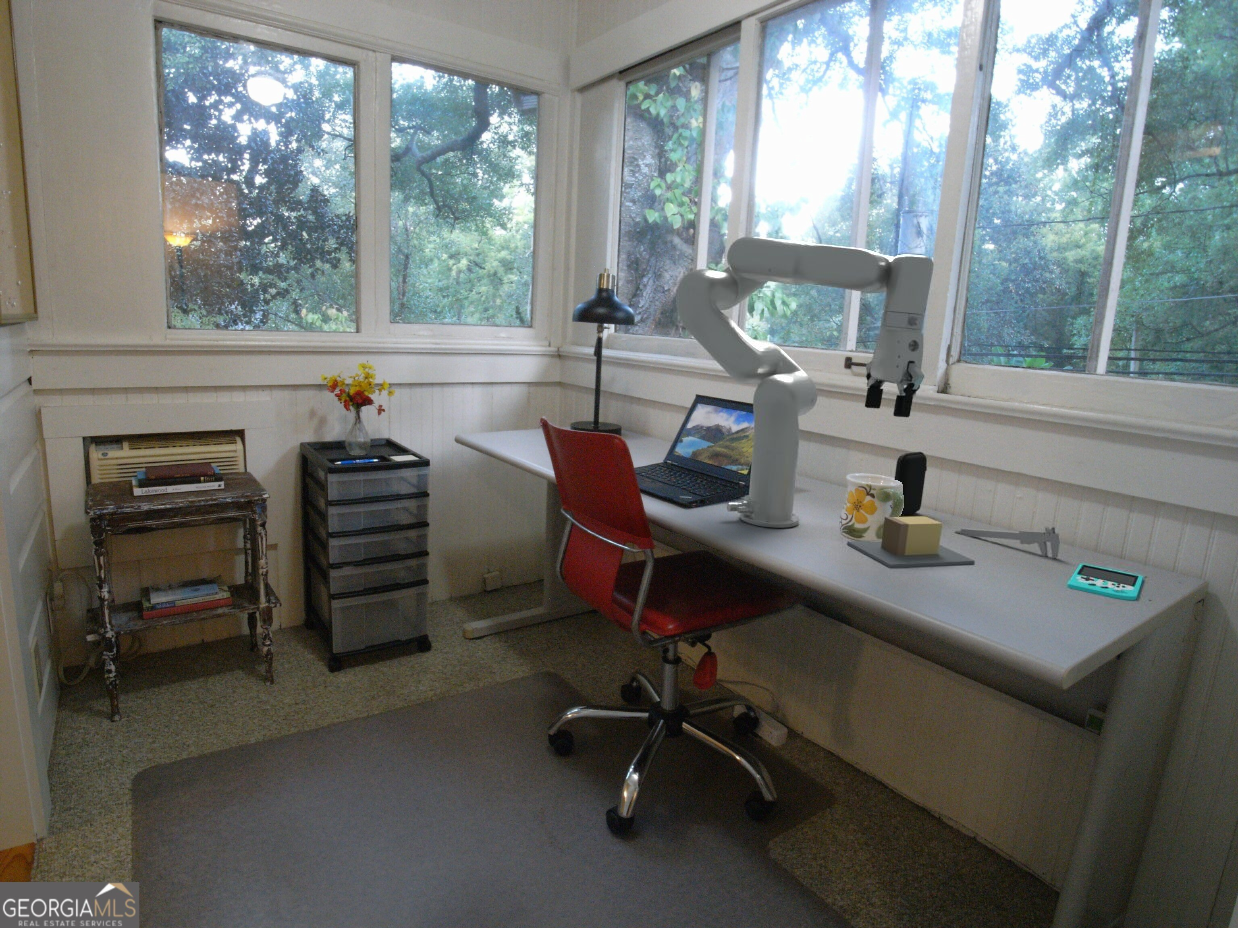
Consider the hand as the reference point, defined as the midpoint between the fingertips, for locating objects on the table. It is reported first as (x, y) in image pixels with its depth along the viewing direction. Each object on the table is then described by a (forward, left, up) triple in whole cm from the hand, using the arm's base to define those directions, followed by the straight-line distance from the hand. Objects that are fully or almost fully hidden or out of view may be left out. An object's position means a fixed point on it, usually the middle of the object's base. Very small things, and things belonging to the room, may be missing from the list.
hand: (886, 412), depth 145 cm
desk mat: (+3, -8, -26) cm, 28 cm away
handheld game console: (+29, -28, -27) cm, 48 cm away
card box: (+3, -8, -26) cm, 27 cm away
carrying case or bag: (+22, +19, -26) cm, 39 cm away
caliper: (+27, -5, -27) cm, 39 cm away
